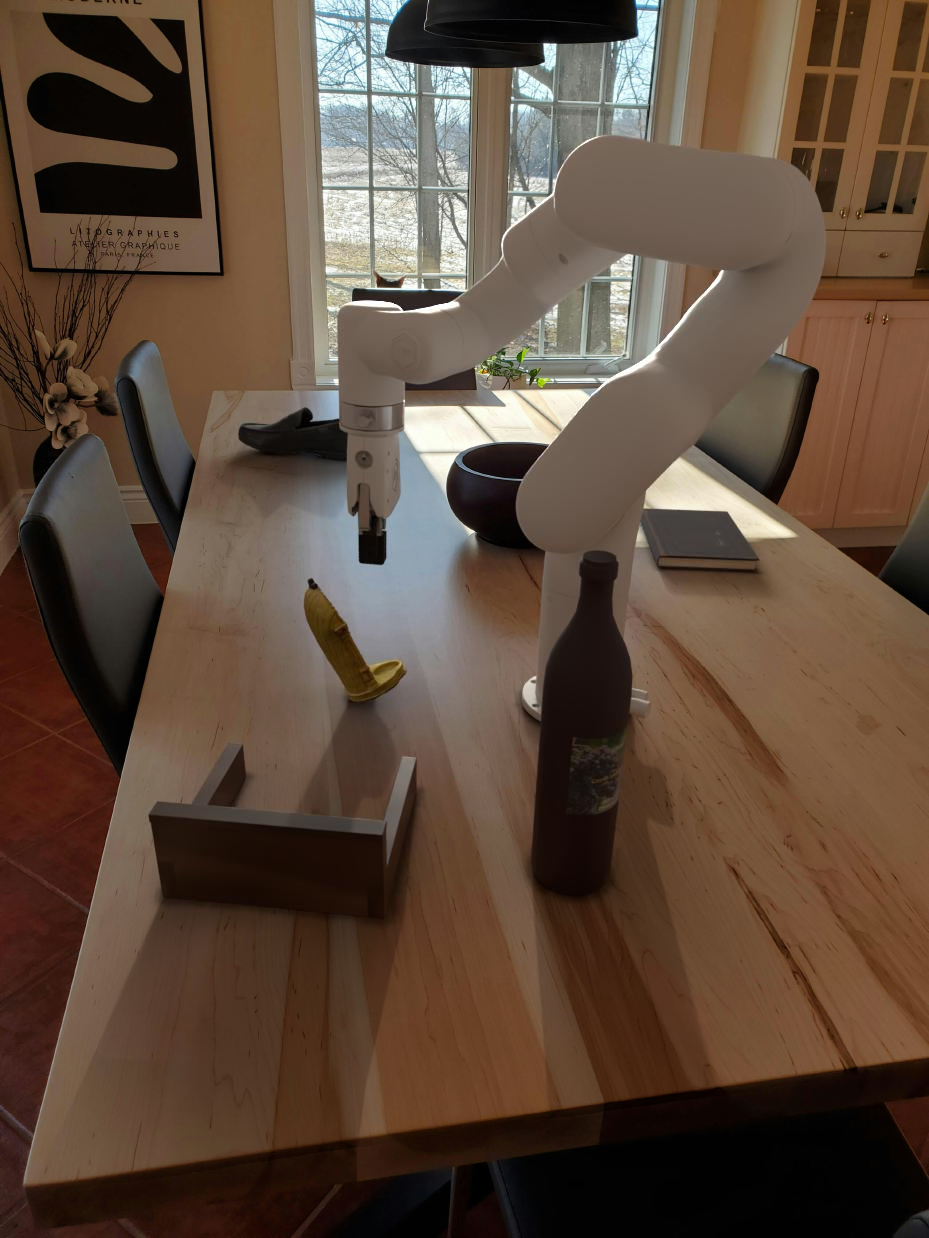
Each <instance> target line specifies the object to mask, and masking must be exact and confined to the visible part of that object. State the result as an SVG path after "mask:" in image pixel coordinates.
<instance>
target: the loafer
mask: <svg viewBox="0 0 929 1238" xmlns="http://www.w3.org/2000/svg"><path fill="white" fill-rule="evenodd" d="M313 419H314V415H313V412H312V411H311V410H310V408H308V407H307V406H305V407H302V408H300V409H297V410H296V411H294V412H290V413H288V415H286V416H283V418H281V419H280V420H278V421H276V422H273V423H257V422H244V423H242V424H240V426H239V428H238V432H237V435H238V440H239V442H241V443H242V444H244V445H245V446H247V447H250V448H252V449H254V450H258V451H260V452H264V453H268V454H273V455H283V456H290V455H295V454H296V455H297V454H310V455H315V456H318V457H320V458H323V459H329V460H336V461H339V460H341V461H346V462H347V442H348V433H347V432H344V431H342V430H341V429H340V428H339V417H338V418H333V419H323V420H322V419H321V420H313Z"/></svg>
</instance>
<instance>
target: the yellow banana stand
mask: <svg viewBox="0 0 929 1238" xmlns="http://www.w3.org/2000/svg"><path fill="white" fill-rule="evenodd" d="M307 585H308V588H307V589H306V591H305V592H304V597H303V608H304V609H303V610H304V615H305V619H306V622H307V624H308V626H309V629H310V632H311V633H312V635H313V637H314V639H315V640H316V643H317V644H318V646H319V649H321V651H322V653H323V655H324V656H325V658H326V660H327V661H328V663H329V664H330V665H331V668H332V669H333V670H334V672H335V673H336V675H337V676H338V678H339V680H340V681H341V683H342V685H343V687H344V692H345V694H346V695H347V697H348V700H349V701H353V702H354V703H358V704H365V703H367V702H371V701H374V700H376V699H378V698H380V697H381V696H383V695H385V694H387V693H388V692H390V691H391V690H393V689H394V688H395V687H397V686H398V684H399V683H400V681H401V680H402V679H403V678H404V677H405V675H407V671H408V670H407V667H405V666H404V665H403V664H404V663H403V662H404V661H403V660H402V659H392V660H387V661H383V662H379V663H378V662H377V663H373V664H372V663H371V664H370V665H369V664H367V663H366V661H365V658H364V657H363V655H362V654H361V651H360V649H359V648H358V646H357V644H356V643H355V641H354V638H353V637H352V635H351V631H350V630H349V626H348V622H346V621H345V620H344V618H343V617H341V615H340V614H339V611H338V610H337V609H336V607H335V606H334V605H333V603H332V602H331V600H329V599H328V597H327V596H326V594H325V593H324V592H323V591H322V589H321V588H320V587H319V584H318V583H316V581H315V580H314V578H313V577H309V578H307Z"/></svg>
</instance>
